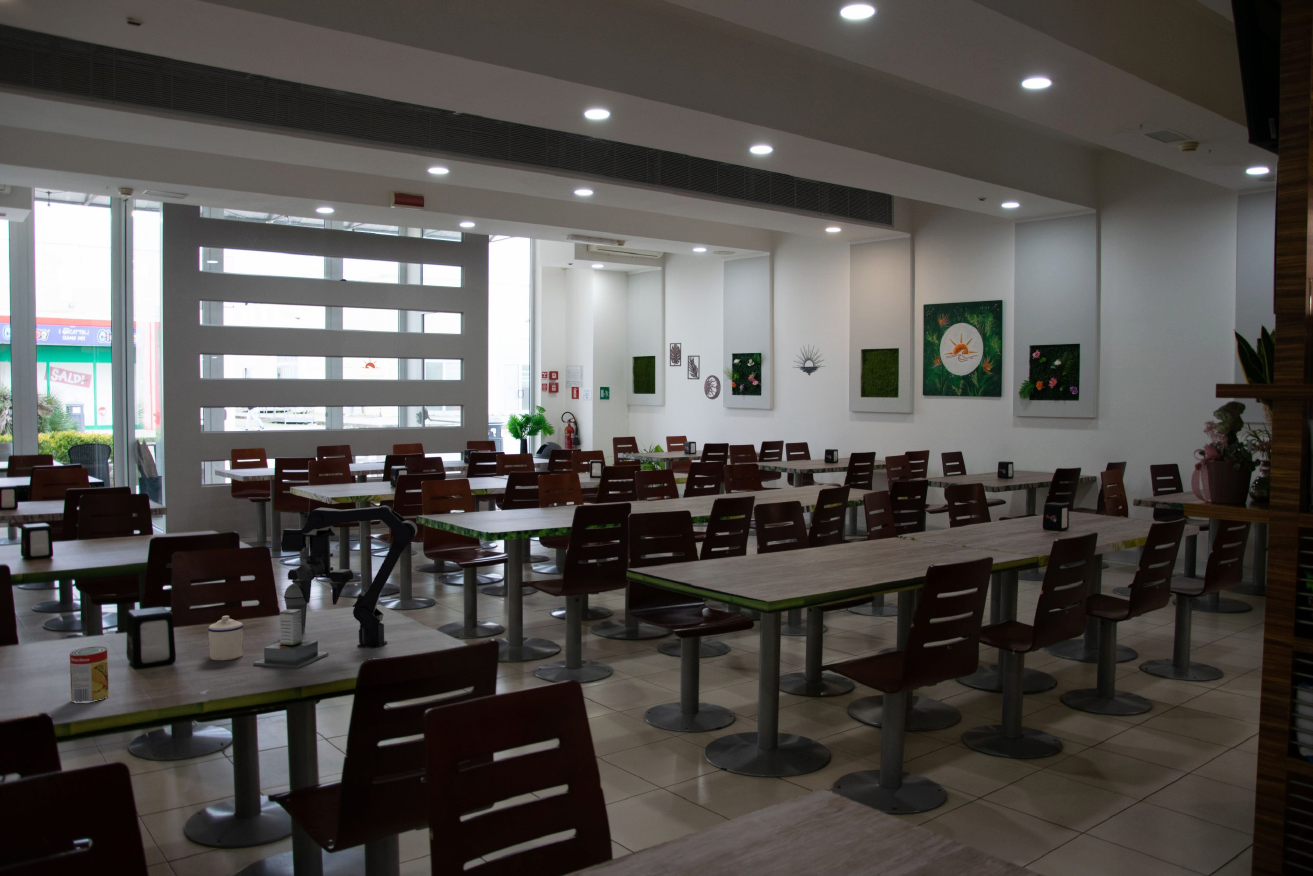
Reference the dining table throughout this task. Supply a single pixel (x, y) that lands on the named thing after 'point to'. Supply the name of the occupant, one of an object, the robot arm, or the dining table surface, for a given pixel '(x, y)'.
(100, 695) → the canned food
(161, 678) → the dining table surface
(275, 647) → the base
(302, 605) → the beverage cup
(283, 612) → the column
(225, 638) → the teacup with lid
